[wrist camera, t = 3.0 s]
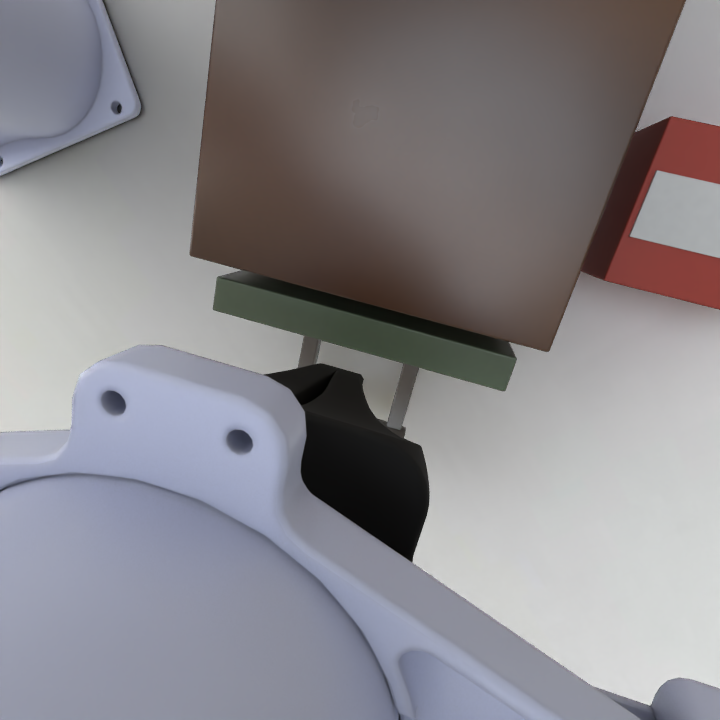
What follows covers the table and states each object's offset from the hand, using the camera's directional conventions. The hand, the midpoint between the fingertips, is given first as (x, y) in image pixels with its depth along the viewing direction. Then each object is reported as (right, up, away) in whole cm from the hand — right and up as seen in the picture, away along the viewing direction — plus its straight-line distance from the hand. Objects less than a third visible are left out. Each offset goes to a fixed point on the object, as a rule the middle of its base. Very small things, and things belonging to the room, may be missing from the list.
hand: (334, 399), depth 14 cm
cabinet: (+4, +11, +5) cm, 13 cm away
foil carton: (+13, +7, +4) cm, 15 cm away
